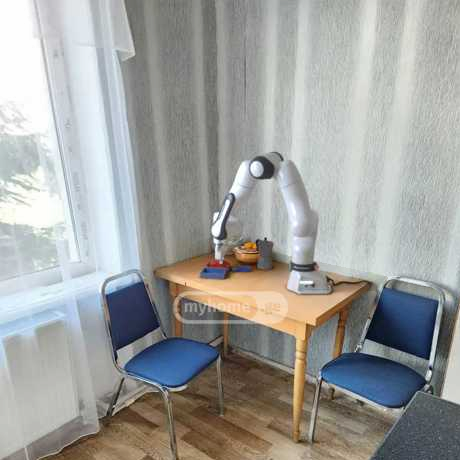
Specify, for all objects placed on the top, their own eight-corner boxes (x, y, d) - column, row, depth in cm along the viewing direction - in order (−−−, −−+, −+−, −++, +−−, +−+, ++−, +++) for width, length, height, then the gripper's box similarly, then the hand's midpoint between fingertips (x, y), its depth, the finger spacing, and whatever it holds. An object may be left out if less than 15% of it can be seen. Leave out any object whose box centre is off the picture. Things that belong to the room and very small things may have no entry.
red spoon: (228, 264, 229) (228, 260, 228) (226, 266, 226) (226, 262, 225) (210, 263, 231) (210, 259, 230) (208, 265, 228) (208, 261, 227)
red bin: (230, 267, 233) (230, 262, 232) (227, 272, 225) (227, 267, 224) (208, 266, 235) (208, 261, 234) (204, 271, 227) (204, 266, 226)
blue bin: (226, 273, 223) (226, 268, 222) (223, 279, 215) (223, 274, 214) (204, 272, 225) (204, 267, 224) (200, 277, 217) (200, 272, 216)
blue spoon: (250, 270, 228) (250, 265, 227) (249, 272, 225) (249, 267, 224) (232, 269, 230) (232, 264, 229) (231, 271, 227) (231, 266, 225)
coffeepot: (278, 268, 230) (279, 238, 223) (265, 271, 225) (266, 241, 218) (261, 262, 242) (262, 233, 234) (249, 264, 237) (249, 235, 229)
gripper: (223, 244, 212) (223, 268, 218) (229, 235, 230) (229, 257, 236) (212, 244, 213) (212, 268, 219) (219, 234, 231) (219, 257, 237)
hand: (221, 262), depth 228 cm, fingers closed on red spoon
